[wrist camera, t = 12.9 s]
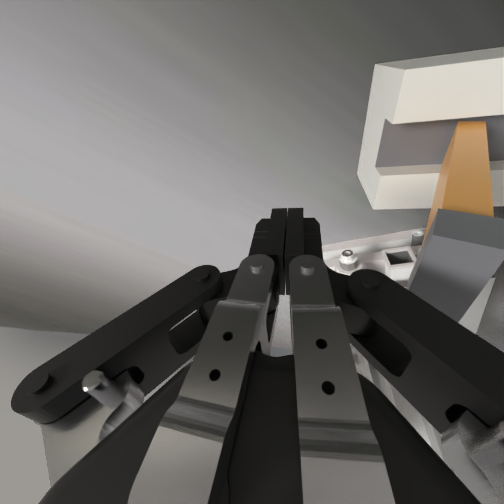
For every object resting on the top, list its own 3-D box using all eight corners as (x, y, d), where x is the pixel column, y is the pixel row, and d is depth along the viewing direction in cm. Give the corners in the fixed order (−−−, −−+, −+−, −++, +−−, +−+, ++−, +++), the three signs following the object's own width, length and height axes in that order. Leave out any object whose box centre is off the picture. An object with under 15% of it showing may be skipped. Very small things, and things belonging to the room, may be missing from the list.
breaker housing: (375, 63, 21) (404, 69, 15) (524, 43, 19) (628, 41, 13) (357, 174, 27) (373, 209, 21) (467, 168, 25) (520, 205, 19)
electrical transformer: (334, 311, 44) (361, 510, 25) (315, 226, 33) (335, 466, 14) (436, 303, 38) (567, 546, 20) (453, 199, 28) (781, 520, 9)
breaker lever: (457, 116, 17) (432, 234, 8) (490, 116, 16) (510, 250, 7) (438, 166, 19) (401, 306, 10) (466, 169, 18) (455, 325, 9)
